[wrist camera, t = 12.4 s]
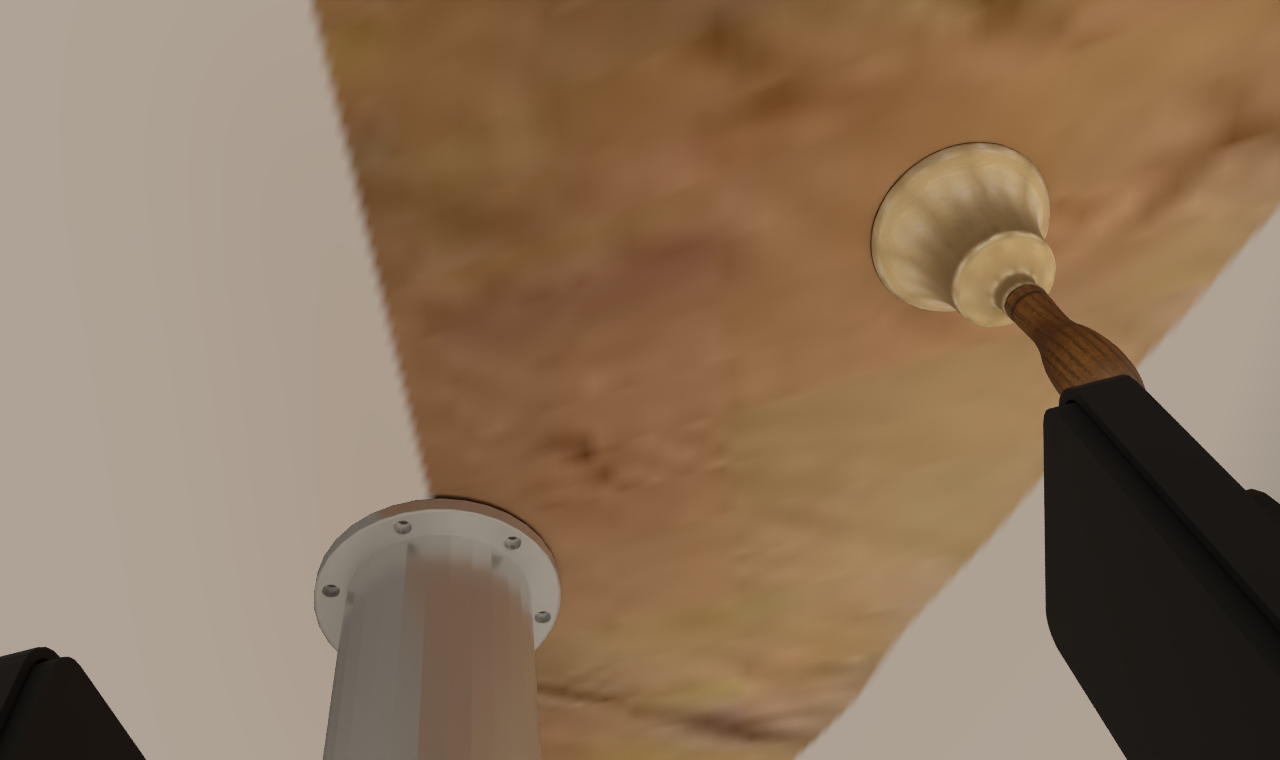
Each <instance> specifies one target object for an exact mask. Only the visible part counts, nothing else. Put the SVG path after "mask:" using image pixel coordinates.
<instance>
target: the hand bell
mask: <svg viewBox="0 0 1280 760" xmlns="http://www.w3.org/2000/svg"><path fill="white" fill-rule="evenodd" d="M1049 220H1050V201H1049V195H1048V191H1047V187H1046V185H1045V182H1044V180H1043V178H1042V176H1041V174H1040V173H1039V171H1038V170H1037V168H1036V167H1035V166H1034V165H1033V164H1032V163H1031V162H1030V161H1029V160H1028V159H1027V158H1025V157H1024V156H1023V155H1021V154H1020V153H1018V152H1016V151H1014V150H1012V149H1010V148H1007V147H1005V146H1003V145H998V144H991V143H981V142H979V143H966V144H961V145H956V146H952V147H948V148H946V149H943V150H941V151H939V152H936V153H934V154H932V155H930V156H928V157H926V158H925V159H923V160H921V161H920V162H919V163H917V164H916V165H914V166H913V167H912V168H911V169H909V170H908V171H907V172H906V173H905V174H904V175H903V176H902V177H901V178H900V179H899V180H898V181H897V182H896V184H895V185H894V186H893V187H892V188H891V190H890V191H889V192H888V194H887V195H886V197H885V199H884V201H883V202H882V204H881V206H880V208H879V211H878V213H877V216H876V218H875V221H874V225H873V230H872V238H871V250H872V258H873V263H874V266H875V269H876V271H877V273H878V275H879V277H880V279H881V281H882V282H883V284H884V285H885V286H886V287H887V289H888V290H889V291H890V292H891V293H892V294H894V295H895V296H897V297H898V298H899V299H901V300H902V301H904V302H906V303H908V304H910V305H913V306H915V307H918V308H922V309H927V310H933V311H958V312H959V313H960V314H961V315H962V316H963V317H965V318H966V319H967V320H969V321H971V322H973V323H976V324H978V325H982V326H989V327H999V326H1004V325H1009V324H1012V323H1016V324H1017V325H1018V326H1019V327H1020V328H1021V329H1022V330H1023V331H1024V332H1025V333H1026V334H1027V335H1028V336H1029V337H1030V338H1031V339H1032V340H1033V341H1034V343H1035V344H1036V345H1037V347H1038V349H1039V351H1040V354H1041V358H1042V362H1043V365H1044V368H1045V371H1046V373H1047V375H1048V377H1049V379H1050V381H1051V382H1052V384H1053V385H1054V387H1055V388H1056V390H1057V392H1058V393H1059V394H1060V395H1061V394H1062V391H1064V390H1065V389H1067V388H1070V387H1074V386H1078V385H1082V384H1086V383H1090V382H1094V381H1098V380H1102V379H1106V378H1110V377H1114V376H1118V375H1122V374H1124V375H1129V376H1131V377H1132V378H1133V379H1135V380H1136V381H1137V382H1138V383H1139V384H1140V385H1141V386H1142V387H1143V388H1144V389H1145V387H1144V384H1143V381H1142V379H1141V377H1140V375H1139V373H1138V371H1137V370H1136V368H1135V367H1134V365H1133V364H1132V363H1131V361H1130V360H1129V359H1128V358H1127V357H1126V355H1125V354H1124V353H1123V352H1122V351H1121V350H1120V349H1119V348H1118V347H1117V346H1116V345H1114V344H1113V343H1112V342H1110V341H1109V340H1108V339H1106V338H1105V337H1103V336H1102V335H1100V334H1099V333H1097V332H1096V331H1094V330H1092V329H1090V328H1088V327H1085V326H1083V325H1080V324H1077V323H1075V322H1073V321H1071V320H1070V319H1069V318H1068V317H1067V316H1066V315H1065V314H1064V313H1063V312H1062V311H1061V310H1060V309H1059V307H1058V306H1057V305H1056V304H1055V303H1054V301H1053V300H1052V299H1051V298H1050V297H1049V296H1048V294H1049V292H1050V290H1051V288H1052V285H1053V283H1054V279H1055V273H1056V265H1055V259H1054V255H1053V253H1052V250H1051V248H1050V247H1049V245H1048V244H1047V242H1046V241H1045V237H1046V234H1047V231H1048V226H1049Z"/></svg>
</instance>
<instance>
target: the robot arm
mask: <svg viewBox="0 0 1280 760" xmlns="http://www.w3.org/2000/svg"><path fill="white" fill-rule="evenodd" d="M1043 431H1044V506H1045V507H1044V508H1045V582H1046V583H1045V585H1046V616H1047V621H1048V625H1049V629H1050V632H1051V635H1052V637H1053V640H1054V642H1055V644H1056V646H1057V648H1058V650H1059V651H1060V653H1061V655H1062V656H1063V658H1064V659H1065V661H1066V663H1067V664H1068V666H1069V668H1070V669H1071V671H1072V672H1073V674H1074V675H1075V677H1076V679H1077V680H1078V682H1079V683H1080V685H1081V687H1082V688H1083V690H1084V691H1085V693H1086V695H1087V696H1088V698H1089V700H1090V701H1091V703H1092V704H1093V705H1094V707H1095V709H1096V711H1097V712H1098V714H1099V715H1100V717H1101V719H1102V720H1103V722H1104V723H1105V725H1106V727H1107V728H1108V730H1109V731H1110V733H1111V735H1112V736H1113V738H1114V739H1115V741H1116V743H1117V744H1118V746H1119V747H1120V749H1121V751H1122V752H1123V754H1124V755H1125V757H1126V758H1127V760H1280V504H1279V503H1278V502H1276V501H1275V500H1274V499H1272V498H1271V497H1270V496H1268V495H1267V494H1266V493H1264V492H1261V491H1257V490H1254V489H1249V490H1245V489H1244V488H1242V486H1240V484H1239V483H1238V482H1236V480H1235V479H1234V478H1233V477H1232V476H1231V475H1230V474H1229V473H1228V472H1227V471H1226V470H1225V469H1224V468H1222V466H1221V465H1220V464H1219V463H1218V462H1217V461H1216V460H1215V459H1214V458H1213V457H1212V456H1211V455H1210V454H1209V453H1208V452H1207V451H1206V450H1205V449H1204V448H1203V447H1202V446H1201V445H1200V444H1199V443H1198V442H1197V441H1196V440H1195V439H1194V438H1193V437H1192V436H1191V435H1190V434H1189V433H1188V432H1187V431H1186V430H1185V429H1184V428H1183V427H1182V426H1181V425H1180V424H1179V423H1178V422H1177V421H1176V420H1175V419H1174V418H1173V417H1172V416H1171V415H1170V414H1169V413H1168V412H1167V411H1166V410H1165V409H1164V408H1163V407H1162V406H1161V405H1160V404H1159V403H1158V402H1157V401H1156V400H1155V399H1154V398H1153V397H1152V396H1151V395H1150V394H1149V393H1148V392H1147V391H1146V390H1145V389H1144V388H1143V387H1142V386H1141V385H1140V384H1139V383H1138V382H1137V381H1136V380H1135V379H1133V378H1132V377H1131V376H1129V375H1124V374H1122V375H1118V376H1114V377H1110V378H1106V379H1102V380H1098V381H1094V382H1090V383H1086V384H1082V385H1078V386H1074V387H1070V388H1067V389H1065V390H1064V391H1062V394H1061V396H1060V400H1059V406H1058V407H1054V408H1050V409H1048V410H1046V412H1045V415H1044V422H1043ZM560 594H561V588H560V580H559V572H558V568H557V566H556V563H555V560H554V558H553V555H552V553H551V552H550V550H549V549H548V547H547V546H546V544H545V543H544V542H543V540H542V539H541V538H540V537H539V536H538V535H537V534H536V533H535V532H534V531H533V530H532V529H531V528H529V527H528V526H527V525H526V524H524V523H523V522H521V521H519V520H518V519H516V518H515V517H513V516H511V515H510V514H508V513H505V512H503V511H500V510H498V509H495V508H493V507H490V506H487V505H483V504H479V503H474V502H470V501H466V500H453V499H427V500H415V501H411V502H407V503H402V504H397V505H393V506H390V507H388V508H385V509H383V510H380V511H377V512H375V513H373V514H370V515H369V516H367V517H365V518H364V519H362V520H360V521H359V522H357V523H355V524H354V525H352V526H351V527H350V528H349V529H347V531H345V532H344V533H343V534H342V535H341V536H340V537H339V538H337V539H336V540H335V542H334V543H333V545H332V546H331V547H330V549H329V550H328V552H327V553H326V554H325V556H324V558H323V561H322V563H321V566H320V568H319V571H318V574H317V579H316V585H315V590H314V610H315V613H316V616H317V620H318V624H319V627H320V628H321V630H322V632H323V633H324V635H325V637H326V639H327V640H328V642H329V643H330V644H331V645H332V646H333V647H334V648H335V649H336V650H337V652H338V655H337V662H336V668H335V676H334V683H333V690H332V697H331V705H330V712H329V719H328V727H327V733H326V741H325V748H324V755H323V760H541V747H540V731H539V714H538V698H537V681H536V665H535V650H536V649H537V648H538V647H539V646H540V645H541V643H542V642H543V641H544V640H545V639H546V638H547V636H548V635H549V633H550V631H551V629H552V627H553V626H554V624H555V622H556V619H557V615H558V612H559V608H560ZM0 760H146V759H145V758H144V756H143V755H142V753H141V752H140V750H139V749H138V748H137V746H136V745H135V743H134V742H133V740H132V739H131V738H130V736H129V735H128V734H127V732H126V730H125V729H124V728H123V726H122V725H121V723H120V722H119V720H118V719H117V718H116V716H115V715H114V713H113V712H112V711H111V709H110V708H109V706H108V705H107V703H106V702H105V701H104V699H103V698H102V696H101V695H100V693H99V692H98V691H97V689H96V688H95V686H94V685H93V683H92V682H91V681H90V679H89V678H88V676H87V675H86V673H85V672H84V670H83V669H82V668H81V666H80V665H79V664H78V663H77V662H76V661H75V660H74V659H72V658H70V657H61V658H60V657H59V656H58V655H57V654H56V653H55V652H54V651H53V650H51V649H49V648H47V647H37V648H33V649H29V650H25V651H22V652H17V653H14V654H9V655H5V656H2V657H0Z"/></svg>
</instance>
